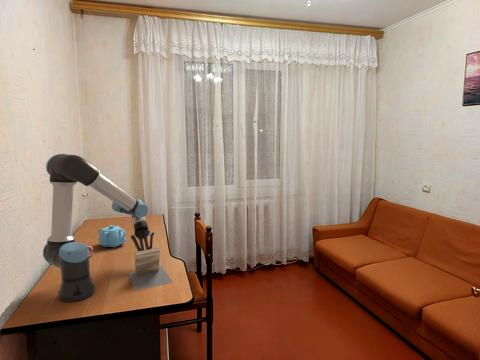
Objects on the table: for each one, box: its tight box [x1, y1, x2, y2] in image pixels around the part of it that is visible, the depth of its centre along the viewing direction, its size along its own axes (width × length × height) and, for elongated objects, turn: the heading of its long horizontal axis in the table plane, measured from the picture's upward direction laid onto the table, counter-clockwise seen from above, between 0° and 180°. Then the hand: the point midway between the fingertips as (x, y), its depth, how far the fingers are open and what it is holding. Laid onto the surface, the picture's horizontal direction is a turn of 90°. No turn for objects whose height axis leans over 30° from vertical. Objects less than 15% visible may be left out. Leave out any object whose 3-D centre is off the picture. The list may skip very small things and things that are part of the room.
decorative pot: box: [97, 224, 127, 248], centre depth 211 cm, size 16×16×14 cm
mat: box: [128, 265, 173, 291], centre depth 162 cm, size 22×18×1 cm
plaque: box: [134, 247, 161, 275], centre depth 165 cm, size 2×12×14 cm, turn 117°
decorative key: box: [87, 245, 94, 258], centre depth 190 cm, size 7×1×20 cm
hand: (147, 262), depth 169 cm, fingers closed
